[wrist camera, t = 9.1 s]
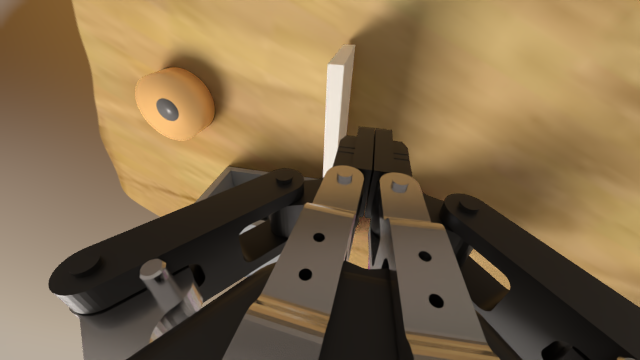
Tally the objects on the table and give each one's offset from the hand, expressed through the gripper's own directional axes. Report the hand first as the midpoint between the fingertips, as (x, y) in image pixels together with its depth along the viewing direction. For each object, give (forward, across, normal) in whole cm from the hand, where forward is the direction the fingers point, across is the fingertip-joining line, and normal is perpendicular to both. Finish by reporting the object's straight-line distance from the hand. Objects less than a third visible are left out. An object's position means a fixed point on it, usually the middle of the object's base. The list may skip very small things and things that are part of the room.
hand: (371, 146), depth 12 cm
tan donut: (+14, +21, +5) cm, 25 cm away
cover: (+14, +3, +5) cm, 15 cm away
